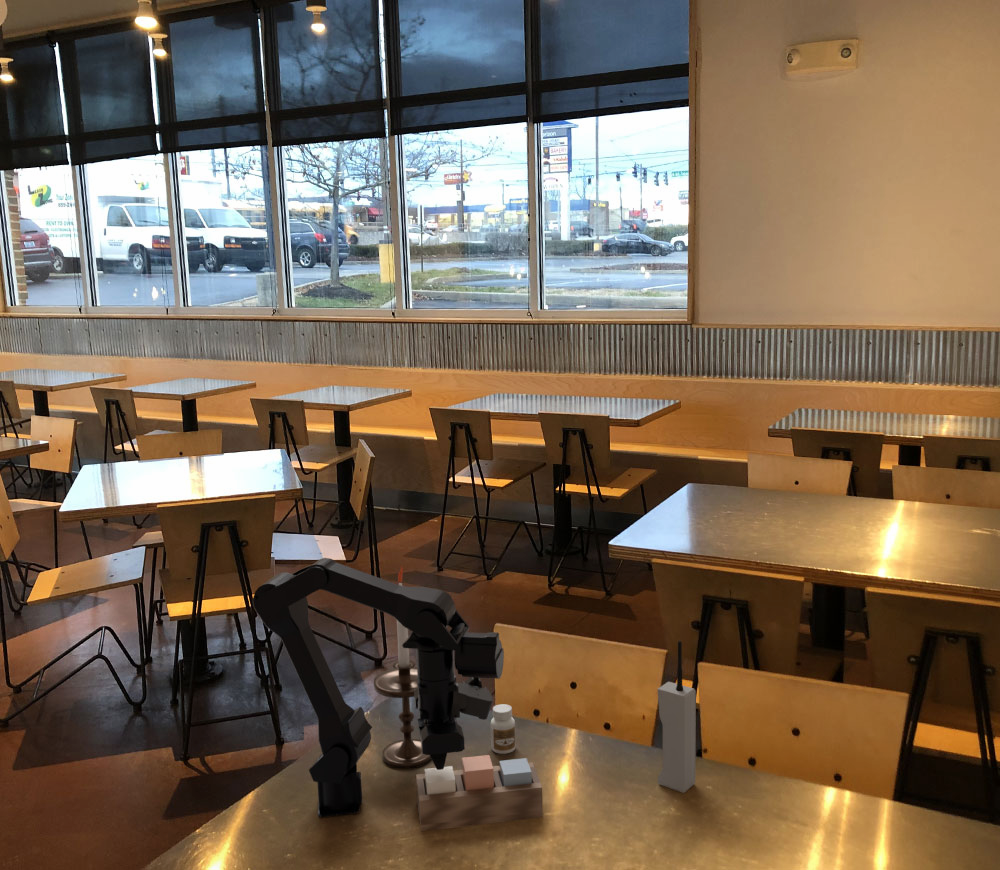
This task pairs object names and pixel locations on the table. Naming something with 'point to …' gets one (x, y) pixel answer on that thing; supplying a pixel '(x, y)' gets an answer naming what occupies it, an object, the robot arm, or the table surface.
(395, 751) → the candlestick
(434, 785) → the key white
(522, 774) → the key slate
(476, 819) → the key housing
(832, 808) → the table surface
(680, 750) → the vintage mobile phone
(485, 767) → the key terracotta
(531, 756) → the table surface
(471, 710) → the robot arm
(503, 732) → the pill bottle
